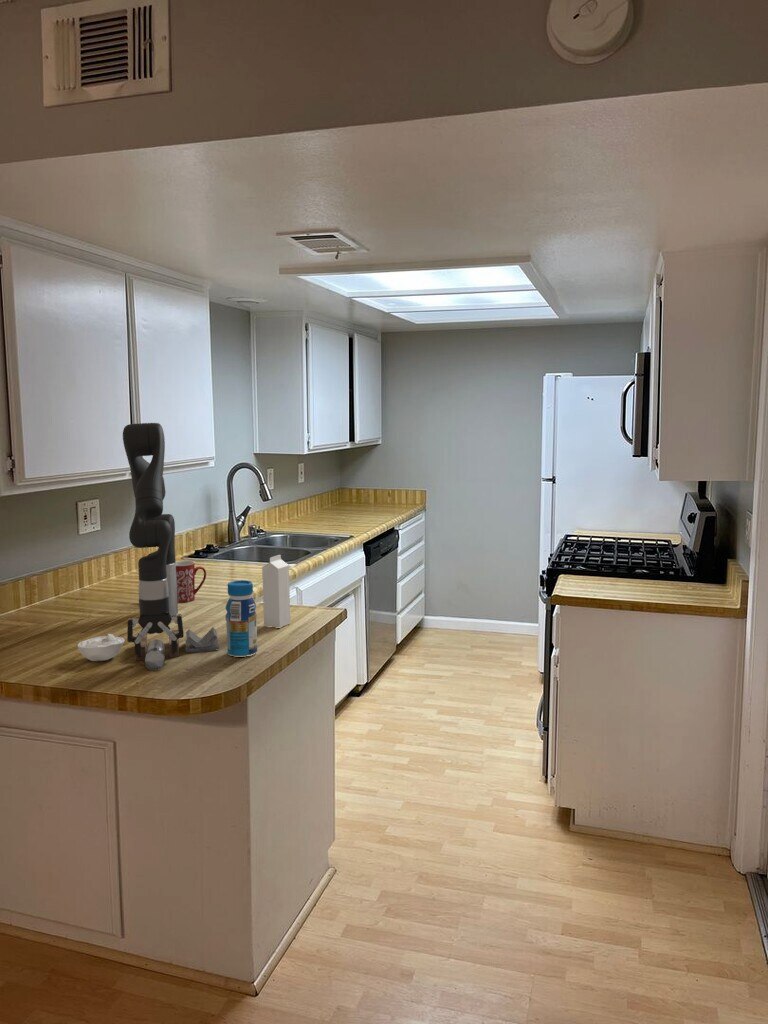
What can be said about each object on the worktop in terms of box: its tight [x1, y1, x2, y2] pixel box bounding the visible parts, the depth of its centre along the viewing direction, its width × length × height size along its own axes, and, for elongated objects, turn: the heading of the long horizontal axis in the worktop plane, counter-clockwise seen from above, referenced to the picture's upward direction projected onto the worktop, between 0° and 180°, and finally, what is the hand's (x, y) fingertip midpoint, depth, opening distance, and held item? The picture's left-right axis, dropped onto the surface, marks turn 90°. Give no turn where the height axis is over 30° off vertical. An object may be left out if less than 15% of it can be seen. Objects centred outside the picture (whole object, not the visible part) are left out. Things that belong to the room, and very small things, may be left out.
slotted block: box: [135, 629, 180, 661], centre depth 213 cm, size 14×11×4 cm
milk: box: [261, 554, 291, 627], centre depth 236 cm, size 6×6×22 cm
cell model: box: [77, 633, 126, 662], centre depth 206 cm, size 10×12×7 cm
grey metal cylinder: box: [144, 639, 166, 672], centre depth 203 cm, size 12×5×5 cm, turn 15°
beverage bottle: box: [225, 579, 258, 657], centre depth 209 cm, size 8×8×20 cm
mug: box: [176, 560, 207, 604], centre depth 269 cm, size 13×9×14 cm
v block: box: [184, 627, 220, 654], centre depth 216 cm, size 9×9×4 cm
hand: (156, 654), depth 203 cm, fingers open, 8 cm apart
